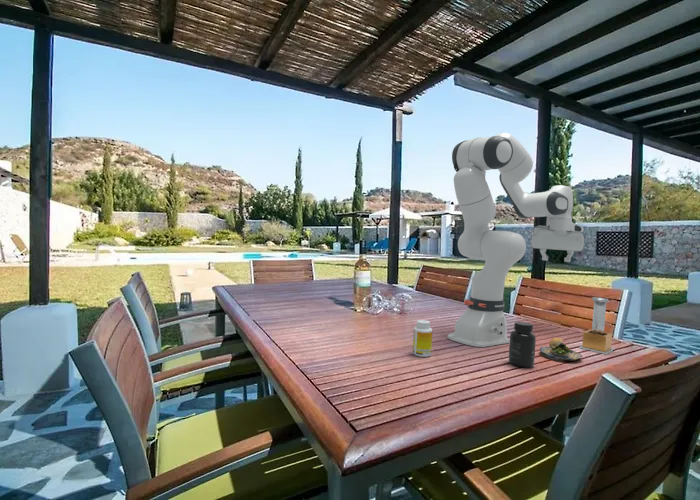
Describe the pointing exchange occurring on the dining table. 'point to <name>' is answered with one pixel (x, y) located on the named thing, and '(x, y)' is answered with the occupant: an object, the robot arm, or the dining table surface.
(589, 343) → the block
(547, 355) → the burger
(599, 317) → the drop pin
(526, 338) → the supplement bottle
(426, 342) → the supplement bottle
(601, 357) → the dining table surface
